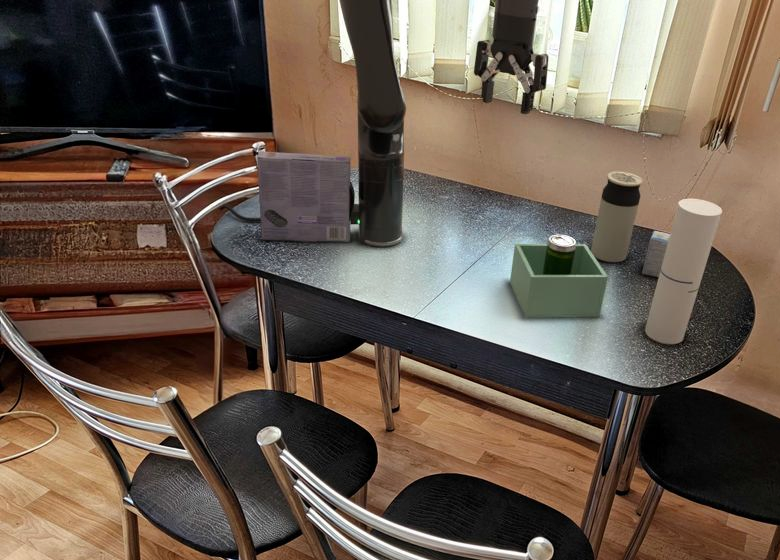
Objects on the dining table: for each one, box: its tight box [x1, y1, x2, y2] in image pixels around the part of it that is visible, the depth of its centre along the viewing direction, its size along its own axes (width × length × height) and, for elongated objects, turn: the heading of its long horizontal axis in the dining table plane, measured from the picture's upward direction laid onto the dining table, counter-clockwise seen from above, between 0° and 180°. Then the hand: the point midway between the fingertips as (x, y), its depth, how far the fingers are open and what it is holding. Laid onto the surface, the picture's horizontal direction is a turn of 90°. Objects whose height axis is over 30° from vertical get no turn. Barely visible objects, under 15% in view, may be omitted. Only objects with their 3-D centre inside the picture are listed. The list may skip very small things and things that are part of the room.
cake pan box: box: [256, 150, 356, 243], centre depth 141 cm, size 19×5×18 cm, turn 100°
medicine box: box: [641, 230, 670, 278], centre depth 145 cm, size 8×4×9 cm, turn 71°
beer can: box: [542, 234, 576, 275], centre depth 130 cm, size 5×5×12 cm
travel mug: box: [590, 171, 644, 263], centre depth 147 cm, size 8×8×18 cm
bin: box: [509, 243, 609, 319], centre depth 131 cm, size 15×14×9 cm
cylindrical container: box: [644, 198, 723, 345], centre depth 120 cm, size 7×7×25 cm
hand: (506, 107), depth 126 cm, fingers open, 8 cm apart
